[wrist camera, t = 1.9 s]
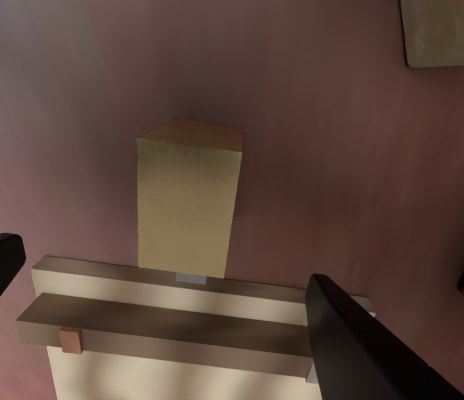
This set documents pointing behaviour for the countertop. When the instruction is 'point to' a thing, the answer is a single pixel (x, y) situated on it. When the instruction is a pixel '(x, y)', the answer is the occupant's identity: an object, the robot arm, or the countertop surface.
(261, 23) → the countertop surface
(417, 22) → the caddy
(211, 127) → the tan box
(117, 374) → the board
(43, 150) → the countertop surface
